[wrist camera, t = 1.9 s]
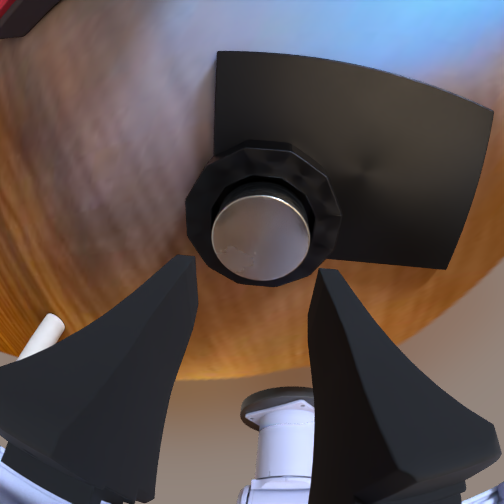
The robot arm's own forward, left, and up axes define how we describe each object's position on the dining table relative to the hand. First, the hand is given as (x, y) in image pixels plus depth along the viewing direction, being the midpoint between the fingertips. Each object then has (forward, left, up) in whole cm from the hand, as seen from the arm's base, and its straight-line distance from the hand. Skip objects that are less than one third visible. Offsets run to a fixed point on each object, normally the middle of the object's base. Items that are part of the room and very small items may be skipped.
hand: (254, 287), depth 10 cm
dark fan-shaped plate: (-1, -5, -6) cm, 8 cm away
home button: (0, 0, -5) cm, 5 cm away
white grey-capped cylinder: (+2, +22, -6) cm, 23 cm away
